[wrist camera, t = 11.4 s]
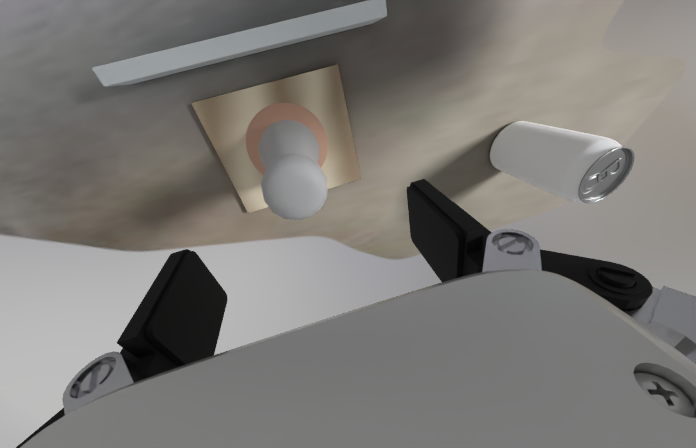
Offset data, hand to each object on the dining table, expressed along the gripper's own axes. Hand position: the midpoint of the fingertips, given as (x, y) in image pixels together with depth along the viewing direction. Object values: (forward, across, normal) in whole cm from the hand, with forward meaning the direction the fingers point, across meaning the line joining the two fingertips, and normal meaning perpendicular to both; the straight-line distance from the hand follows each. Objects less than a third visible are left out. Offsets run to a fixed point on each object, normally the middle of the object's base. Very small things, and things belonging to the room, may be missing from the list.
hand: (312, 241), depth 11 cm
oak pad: (+19, +1, 0) cm, 19 cm away
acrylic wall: (+19, +1, -8) cm, 21 cm away
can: (+20, -27, +8) cm, 35 cm away
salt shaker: (+19, +1, 0) cm, 19 cm away
